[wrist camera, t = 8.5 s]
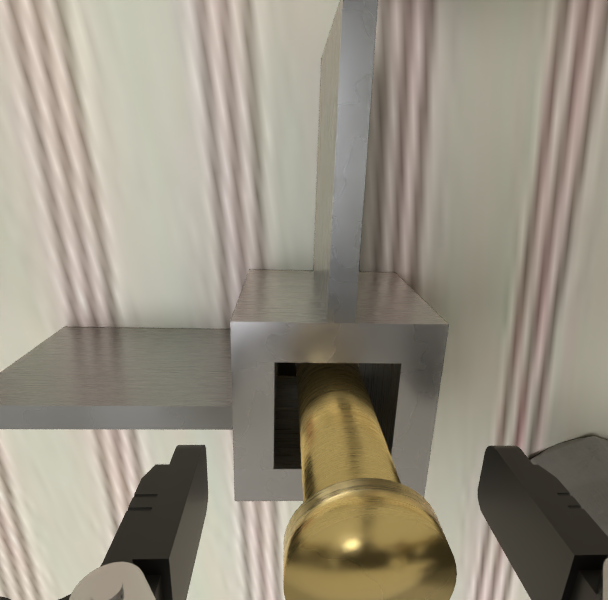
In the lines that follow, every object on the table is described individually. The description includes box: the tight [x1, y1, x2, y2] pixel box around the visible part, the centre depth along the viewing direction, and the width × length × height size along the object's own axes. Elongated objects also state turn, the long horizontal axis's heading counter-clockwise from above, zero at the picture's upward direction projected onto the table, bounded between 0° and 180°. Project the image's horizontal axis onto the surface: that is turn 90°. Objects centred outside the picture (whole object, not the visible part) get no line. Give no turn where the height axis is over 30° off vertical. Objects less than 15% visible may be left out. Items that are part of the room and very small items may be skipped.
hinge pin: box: [284, 363, 457, 600], centre depth 15 cm, size 4×4×13 cm
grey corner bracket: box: [0, 0, 449, 501], centre depth 16 cm, size 16×16×7 cm
